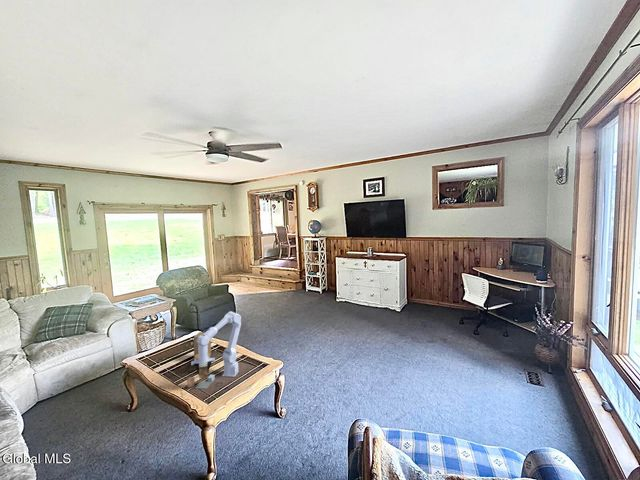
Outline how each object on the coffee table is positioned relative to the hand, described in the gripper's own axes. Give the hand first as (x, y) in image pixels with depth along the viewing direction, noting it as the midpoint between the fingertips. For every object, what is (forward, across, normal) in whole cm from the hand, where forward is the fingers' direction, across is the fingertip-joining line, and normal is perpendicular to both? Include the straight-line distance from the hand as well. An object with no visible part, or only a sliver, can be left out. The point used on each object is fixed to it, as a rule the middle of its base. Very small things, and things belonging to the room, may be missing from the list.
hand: (203, 373), depth 187 cm
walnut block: (+2, 0, 0) cm, 2 cm away
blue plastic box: (+8, -5, -5) cm, 11 cm away
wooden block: (+8, +2, -42) cm, 42 cm away
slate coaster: (+8, 0, 0) cm, 8 cm away
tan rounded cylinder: (+8, +8, -2) cm, 12 cm away
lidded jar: (+8, +2, -30) cm, 31 cm away
